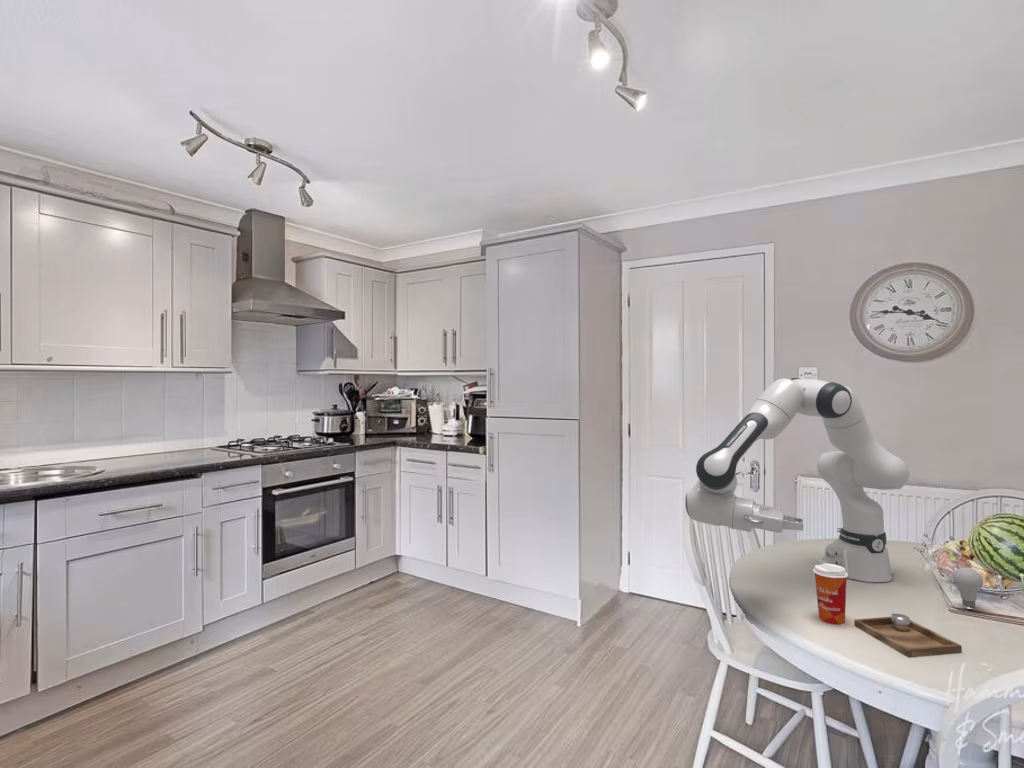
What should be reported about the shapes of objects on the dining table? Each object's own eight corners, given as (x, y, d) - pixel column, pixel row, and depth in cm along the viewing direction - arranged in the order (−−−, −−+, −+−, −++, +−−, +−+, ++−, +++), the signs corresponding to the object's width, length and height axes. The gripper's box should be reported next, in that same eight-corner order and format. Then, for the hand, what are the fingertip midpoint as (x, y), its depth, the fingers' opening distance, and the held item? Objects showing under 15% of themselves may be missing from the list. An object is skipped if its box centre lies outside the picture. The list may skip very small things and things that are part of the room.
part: (888, 626, 132) (887, 614, 132) (901, 625, 132) (901, 613, 132) (900, 632, 128) (899, 620, 129) (913, 631, 129) (913, 619, 129)
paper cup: (808, 618, 139) (805, 565, 139) (829, 613, 142) (827, 561, 142) (835, 631, 132) (833, 574, 132) (857, 625, 134) (855, 570, 135)
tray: (854, 627, 133) (854, 619, 133) (902, 624, 134) (901, 615, 134) (908, 659, 117) (908, 650, 117) (961, 655, 118) (961, 645, 118)
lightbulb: (976, 605, 144) (974, 564, 144) (989, 614, 138) (987, 572, 138) (949, 603, 145) (947, 563, 146) (961, 613, 140) (960, 571, 140)
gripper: (744, 507, 137) (804, 517, 131) (749, 499, 155) (803, 508, 149) (742, 531, 137) (802, 543, 131) (747, 521, 155) (801, 531, 149)
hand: (803, 524), depth 140 cm, fingers open, 8 cm apart
